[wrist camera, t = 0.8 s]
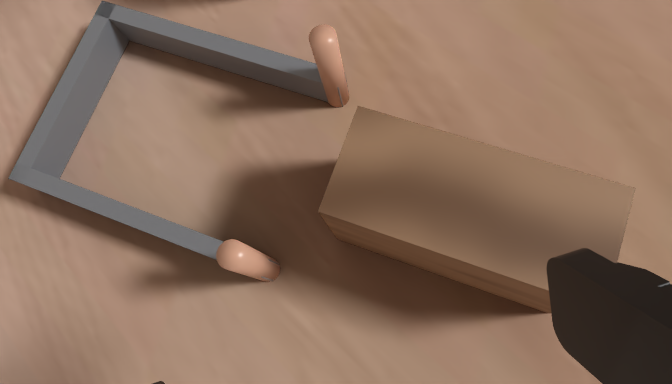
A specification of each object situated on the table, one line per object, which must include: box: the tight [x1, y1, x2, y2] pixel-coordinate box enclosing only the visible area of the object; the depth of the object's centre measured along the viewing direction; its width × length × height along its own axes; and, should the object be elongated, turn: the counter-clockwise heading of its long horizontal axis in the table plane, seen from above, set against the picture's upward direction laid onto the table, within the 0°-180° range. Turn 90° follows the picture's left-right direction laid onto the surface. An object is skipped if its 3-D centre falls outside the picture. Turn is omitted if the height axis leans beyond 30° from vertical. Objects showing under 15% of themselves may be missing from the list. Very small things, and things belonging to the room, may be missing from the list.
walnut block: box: [318, 106, 636, 313], centre depth 29 cm, size 6×14×9 cm, turn 70°
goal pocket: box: [8, 1, 349, 282], centre depth 33 cm, size 15×19×8 cm
